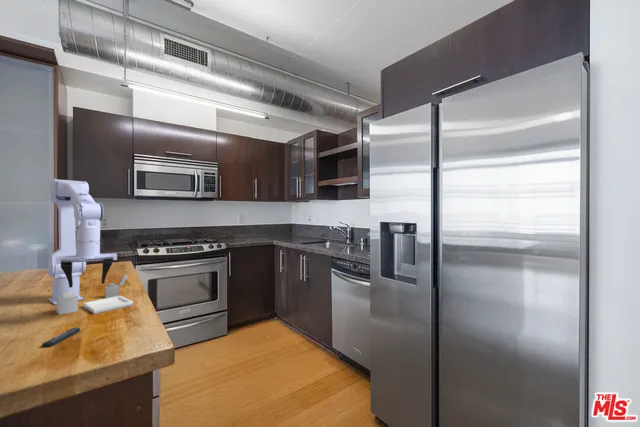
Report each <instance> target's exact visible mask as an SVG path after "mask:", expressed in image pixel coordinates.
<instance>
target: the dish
mask: <svg viewBox="0 0 640 427" xmlns="http://www.w3.org/2000/svg"><path fill="white" fill-rule="evenodd" d="M82 304H83V305H82V306H83V308H84V309H85V310H87V311H88V312H90V313H91V314H93V315H96V314H101V313H106V312H109V311H110V312H111V311H115V310H119V309H123V308H127V307H132V306H133V305H134V301H133V300H131V299H128V298H126V297H124V296H123V295H119V296H116V297H111V298H101V299H95V300H91V301H90V300H89V301H86V302H83V303H82Z"/></svg>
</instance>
